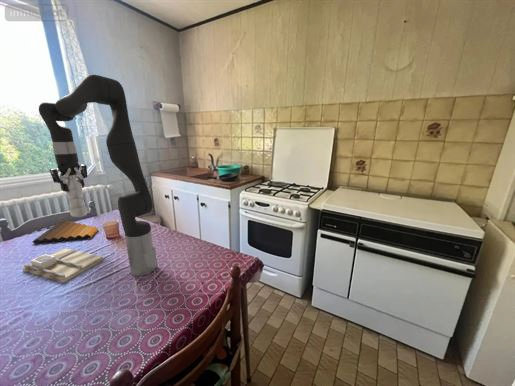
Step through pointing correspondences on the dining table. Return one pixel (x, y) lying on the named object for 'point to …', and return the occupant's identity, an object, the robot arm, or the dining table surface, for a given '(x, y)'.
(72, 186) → the plastic bottle
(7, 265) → the dining table surface
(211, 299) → the dining table surface
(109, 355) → the dining table surface
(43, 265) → the cream rectangular block
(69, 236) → the pan flute
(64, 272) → the board
